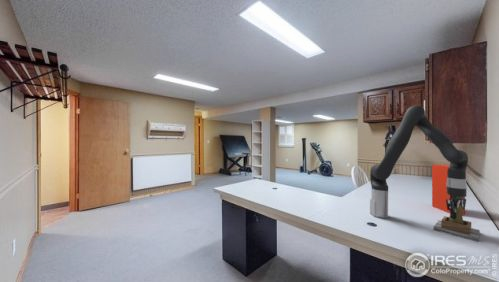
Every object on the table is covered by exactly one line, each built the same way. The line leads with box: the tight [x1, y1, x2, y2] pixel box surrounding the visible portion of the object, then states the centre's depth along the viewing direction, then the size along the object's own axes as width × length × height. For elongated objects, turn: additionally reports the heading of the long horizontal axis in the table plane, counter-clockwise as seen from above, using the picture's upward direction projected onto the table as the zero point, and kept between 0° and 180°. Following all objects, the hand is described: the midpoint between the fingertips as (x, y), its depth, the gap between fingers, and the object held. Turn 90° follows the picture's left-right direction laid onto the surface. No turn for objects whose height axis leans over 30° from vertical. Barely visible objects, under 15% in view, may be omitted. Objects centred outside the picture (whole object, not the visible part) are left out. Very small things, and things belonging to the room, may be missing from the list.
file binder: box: [431, 164, 466, 216], centre depth 141 cm, size 8×17×32 cm, turn 172°
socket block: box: [433, 215, 481, 242], centre depth 107 cm, size 16×16×6 cm
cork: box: [448, 205, 464, 225], centre depth 107 cm, size 6×6×11 cm
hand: (456, 217), depth 107 cm, fingers closed on cork, 4 cm apart
